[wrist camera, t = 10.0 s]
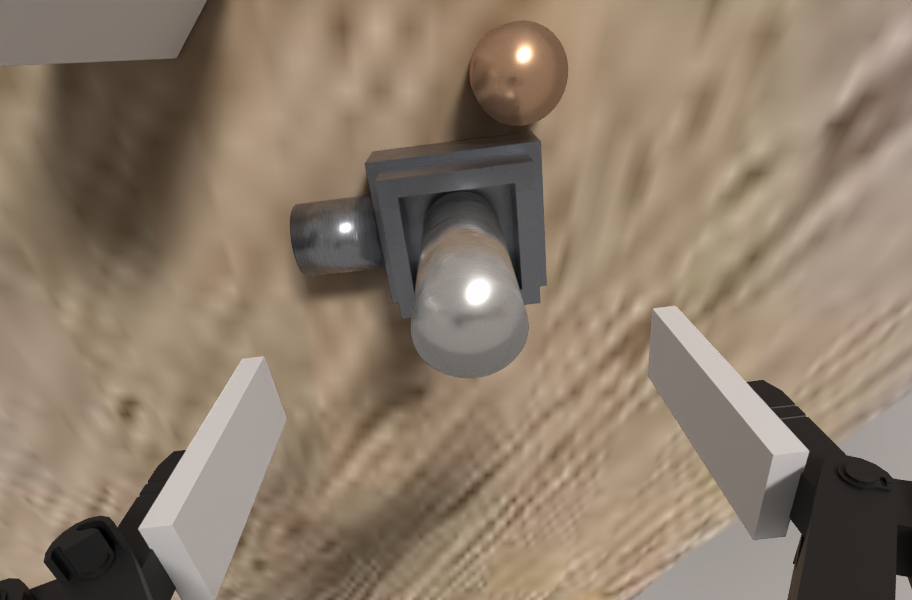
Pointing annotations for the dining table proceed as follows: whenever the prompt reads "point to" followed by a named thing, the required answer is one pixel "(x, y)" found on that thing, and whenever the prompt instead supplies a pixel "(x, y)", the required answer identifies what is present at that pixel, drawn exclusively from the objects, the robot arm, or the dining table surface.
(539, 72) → the glossy bronze sphere
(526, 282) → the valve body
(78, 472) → the dining table surface
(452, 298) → the silver rounded cylinder
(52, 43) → the milk carton
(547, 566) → the dining table surface
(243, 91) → the dining table surface
